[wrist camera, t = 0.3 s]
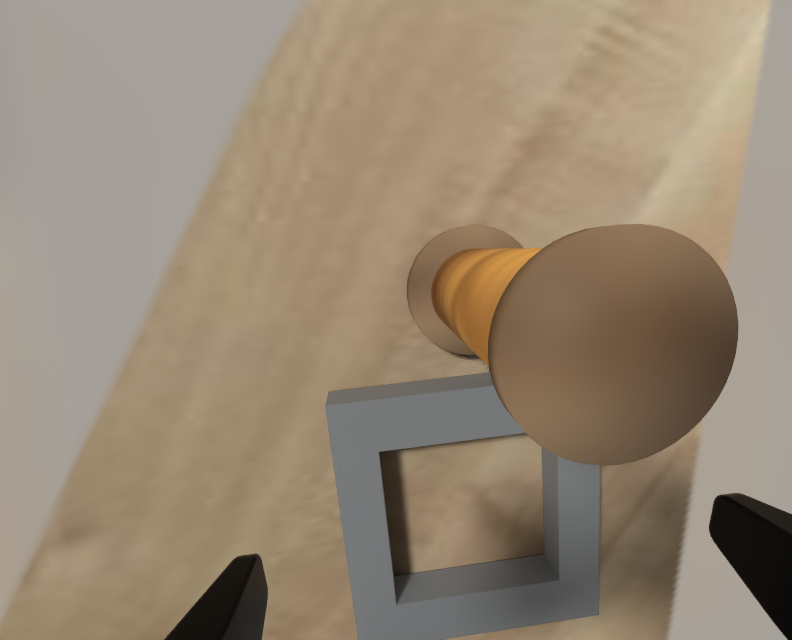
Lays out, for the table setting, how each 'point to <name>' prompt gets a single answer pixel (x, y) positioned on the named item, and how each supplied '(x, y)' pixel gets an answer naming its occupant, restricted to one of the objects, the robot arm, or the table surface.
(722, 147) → the table surface
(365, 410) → the gray square washer
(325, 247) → the table surface
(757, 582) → the robot arm
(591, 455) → the cable reel
